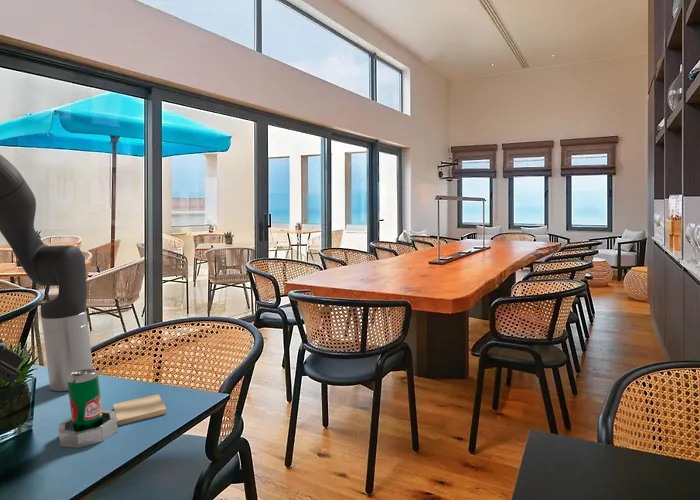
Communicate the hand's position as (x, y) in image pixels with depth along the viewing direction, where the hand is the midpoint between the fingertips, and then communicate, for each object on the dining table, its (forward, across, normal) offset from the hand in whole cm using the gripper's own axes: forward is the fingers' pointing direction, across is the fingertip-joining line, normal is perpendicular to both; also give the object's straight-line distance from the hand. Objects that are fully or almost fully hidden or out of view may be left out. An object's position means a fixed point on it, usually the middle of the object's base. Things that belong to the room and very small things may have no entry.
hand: (18, 370), depth 87 cm
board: (+24, +5, -3) cm, 24 cm away
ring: (+17, 0, +4) cm, 17 cm away
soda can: (+17, 0, +4) cm, 18 cm away
